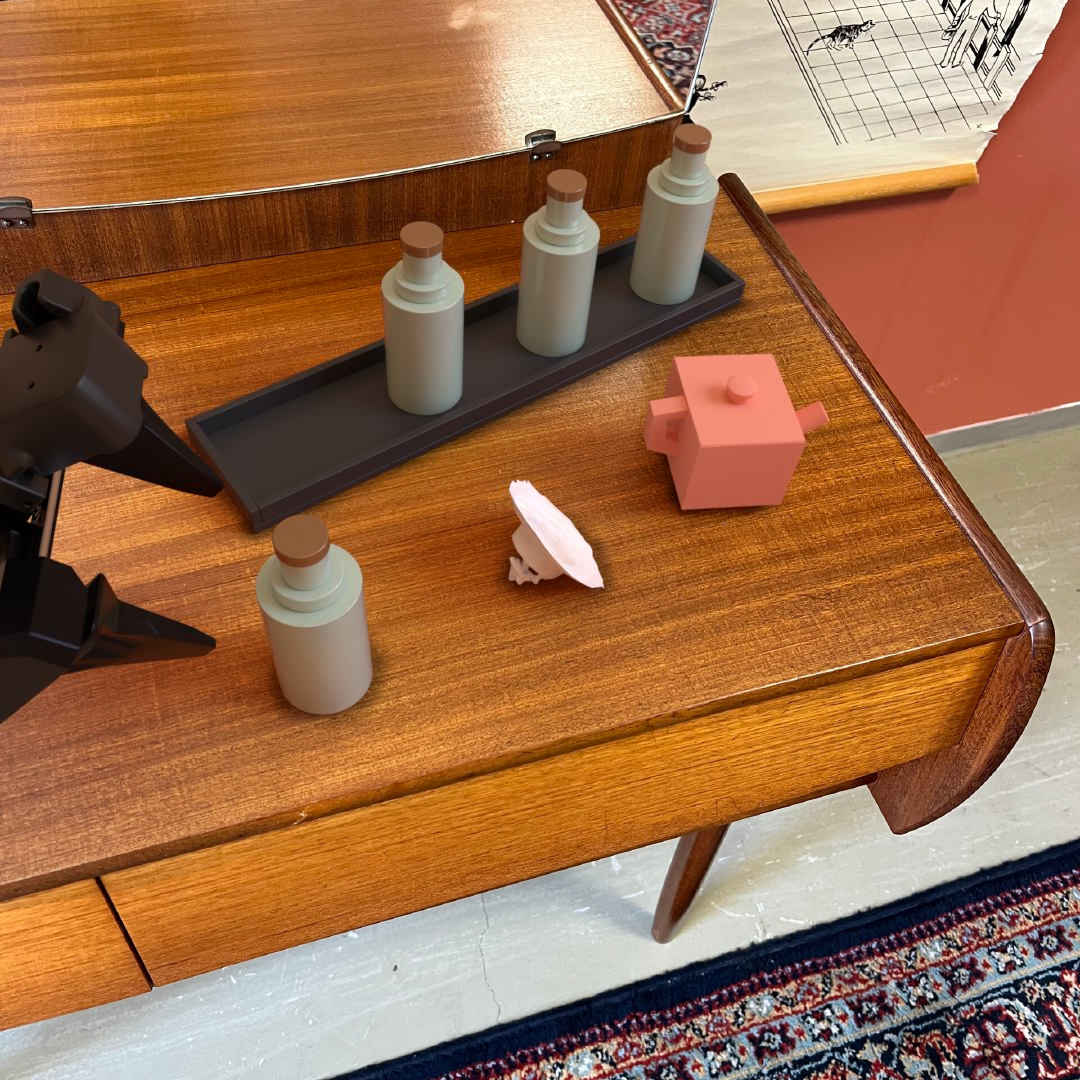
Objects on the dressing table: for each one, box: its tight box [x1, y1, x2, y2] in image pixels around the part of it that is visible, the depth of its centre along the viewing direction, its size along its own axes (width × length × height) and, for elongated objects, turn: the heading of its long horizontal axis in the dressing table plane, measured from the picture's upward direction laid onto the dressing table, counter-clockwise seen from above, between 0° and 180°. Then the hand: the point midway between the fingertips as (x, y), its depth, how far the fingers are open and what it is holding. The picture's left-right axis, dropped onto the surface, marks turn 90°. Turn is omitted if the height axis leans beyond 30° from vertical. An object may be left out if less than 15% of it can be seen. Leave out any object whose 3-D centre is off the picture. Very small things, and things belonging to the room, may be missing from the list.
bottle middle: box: [516, 168, 601, 357], centre depth 70 cm, size 5×5×13 cm
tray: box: [184, 233, 747, 534], centre depth 72 cm, size 42×9×2 cm, turn 127°
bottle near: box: [380, 221, 465, 415], centre depth 66 cm, size 5×5×13 cm
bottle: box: [254, 514, 374, 716], centre depth 52 cm, size 5×5×13 cm
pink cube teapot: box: [643, 353, 830, 511], centre depth 65 cm, size 8×12×8 cm, turn 97°
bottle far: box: [629, 123, 720, 305], centre depth 74 cm, size 5×5×13 cm
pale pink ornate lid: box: [508, 478, 605, 589], centre depth 61 cm, size 8×5×8 cm
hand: (215, 564), depth 48 cm, fingers open, 9 cm apart
